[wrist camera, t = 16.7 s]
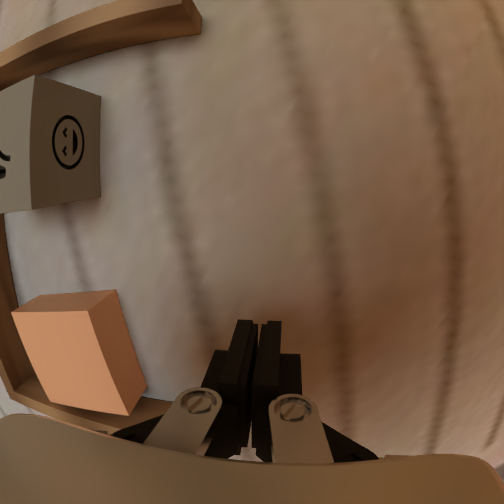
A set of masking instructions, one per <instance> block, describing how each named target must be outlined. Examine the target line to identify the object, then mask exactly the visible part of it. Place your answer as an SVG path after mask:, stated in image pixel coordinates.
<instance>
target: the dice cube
mask: <svg viewBox="0 0 504 504" xmlns="http://www.w3.org/2000/svg"><path fill="white" fill-rule="evenodd" d="M100 106H101V96H98V95H96V94H93V93H90V92H87V91H84V90H81V89H78V88H75V87H72V86H69V85H66V84H63V83H60V82H57V81H54V80H51V79H47V78H44V77H41V76H38V75H33V76H31V77H29V78H26V79H24V80H22V81H20V82H18V83H16V84H14V85H12V86H10V87H8V88H6V89H4V90H2V91H0V213H8V212H17V211H26V210H33V209H38V208H43V207H47V206H52V205H57V204H62V203H68V202H73V201H78V200H84V199H89V198H95V197H101V186H100Z"/></svg>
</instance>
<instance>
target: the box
mask: <svg viewBox="0 0 504 504" xmlns="http://www.w3.org/2000/svg"><path fill="white" fill-rule="evenodd" d="M201 18H202V17H201V15H200V13H199V11H198V9H197V8H196V6H195V4H194V2H193V1H192V0H118V1H115V2H112V3H109V4H106V5H103V6H100V7H97V8H94V9H91V10H88V11H86V12H83V13H80V14H78V15H75V16H73V17H70V18H68V19H66V20H63V21H61V22H59V23H56V24H54V25H52V26H50V27H48V28H45V29H43V30H41V31H39V32H37V33H35V34H33V35H31V36H29V37H27V38H25V39H24V40H22V41H20V42H18V43H16V44H14V45H13V46H11V47H9V48H7V49H6V50H4V51H2V52H1V53H0V91H2V90H4V89H6V88H8V87H10V86H12V85H14V84H16V83H18V82H20V81H22V80H24V79H26V78H29V77H31V76H33V75H40V74H42V73H45V72H47V71H50V70H53V69H55V68H58V67H61V66H63V65H66V64H69V63H72V62H75V61H78V60H81V59H84V58H87V57H91V56H94V55H97V54H101V53H104V52H108V51H112V50H116V49H120V48H124V47H128V46H132V45H136V44H141V43H146V42H151V41H156V40H161V39H167V38H173V37H179V36H186V35H194V34H201ZM17 308H19V307H18V303H17V298H16V294H15V289H14V285H13V280H12V274H11V269H10V263H9V257H8V251H7V244H6V236H5V227H4V217H3V213H0V376H1V378H2V381H3V383H4V385H5V388H6V390H7V392H8V394H9V396H10V399H12V400H14V401H16V402H19V403H21V404H23V405H25V406H27V407H30V408H32V409H34V410H36V411H39V412H41V413H44V414H46V415H48V416H51V417H53V418H56V419H59V420H61V421H64V422H67V423H70V424H74V425H77V426H80V427H83V428H86V429H92V430H101V431H107V432H108V434H109V435H111V434H113V433H114V432H116V431H118V430H120V429H123V428H126V427H129V426H132V425H135V424H138V423H141V422H144V421H147V420H149V419H152V418H155V417H158V416H160V415H163V414H165V413H166V412H167V410H168V409H169V407H170V406H171V405H172V403H173V402H169V401H162V400H157V399H151V398H145V397H140V399H139V400H138V402H137V404H136V405H135V407H134V408H133V410H132V412H131V413H130V415H129V416H127V415H120V414H112V413H106V412H99V411H93V410H88V409H82V408H77V407H72V406H67V405H62V404H58V403H53V402H50V400H49V398H48V397H47V395H46V393H45V391H44V389H43V387H42V385H41V383H40V381H39V379H38V377H37V375H36V373H35V370H34V368H33V366H32V364H31V362H30V359H29V357H28V355H27V352H26V350H25V348H24V345H23V343H22V340H21V338H20V335H19V333H18V330H17V328H16V325H15V322H14V319H13V316H12V314H11V312H12V311H14V310H15V309H17Z"/></svg>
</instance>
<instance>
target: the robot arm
mask: <svg viewBox="0 0 504 504" xmlns="http://www.w3.org/2000/svg"><path fill="white" fill-rule="evenodd" d="M281 323H282V321H268V322H267V324H262V327H261V333H260V339H259V345H258V324H253V321H252V320H239V319H238V322H237V325H236V328H235V331H234V334H233V337H232V340H231V343H230V347H229V350H228V351H225V350H215V352H214V354H213V357H212V359H211V362H210V364H209V367H208V369H207V372H206V375H205V377H204V380H203V382H202V385H201V387H199V388H191V389H188V390H185V391H184V392H182V393H181V394H180V395H179V396H178V397H177V398H176V399H175V401H174V402H173V403H172V405H171V406H170V407H169V409H168V410H167V412H166V413H165V414H163V415H160V416H158V417H155V418H152V419H149V420H147V421H144V422H141V423H138V424H135V425H132V426H129V427H126V428H123V429H120V430H118V431H116V432H114V433H113V434H111V435H109V434H108V432H107V431H101V430H92V429H86V428H83V427H80V426H77V425H74V424H70V423H67V422H64V421H61V420H58V419H54V418H50V417H46V416H40V415H35V414H11V415H7V416H4V417H3V418H1V419H0V504H504V482H503V480H502V479H501V477H500V475H499V474H498V473H497V471H496V470H495V469H494V468H493V467H492V466H491V465H490V464H489V463H487V462H486V461H484V460H482V459H480V458H477V457H473V456H468V455H459V454H427V455H416V456H404V455H385V457H384V458H379V457H377V456H376V455H375V454H374V453H373V452H371V451H370V450H368V449H366V448H365V447H363V446H361V445H359V444H358V443H356V442H354V441H352V440H351V439H349V438H347V437H346V436H344V435H342V434H341V433H339V432H337V431H336V430H334V429H332V428H331V427H329V426H328V425H326V424H324V423H323V422H321V419H320V416H319V412H318V409H317V406H316V405H315V403H314V402H313V401H312V400H311V399H310V398H308V397H306V396H304V395H302V380H301V358H300V354H280V344H281ZM251 421H252V448H256V456H258V457H259V458H260V459H261V460H262V461H263V462H256V461H243V460H233V459H227V458H229V457H231V456H233V455H240V452H241V447H247V445H248V439H249V433H250V427H251Z"/></svg>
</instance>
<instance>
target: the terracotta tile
mask: <svg viewBox="0 0 504 504" xmlns="http://www.w3.org/2000/svg"><path fill="white" fill-rule="evenodd" d="M11 314H12V316H13V319H14V322H15V325H16V328H17V330H18V333H19V335H20V338H21V340H22V343H23V345H24V348H25V350H26V352H27V355H28V357H29V359H30V362H31V364H32V366H33V368H34V370H35V373H36V375H37V377H38V379H39V381H40V383H41V385H42V387H43V389H44V391H45V393H46V395H47V397H48V398H49V400H50V402H53V403H58V404H62V405H67V406H72V407H77V408H82V409H88V410H93V411H99V412H106V413H112V414H120V415H127V416H129V415H130V413H131V412H132V410H133V408H134V407H135V405H136V404H137V402H138V400H139V399H140V397H141V395H142V394H143V392H144V391H145V389H146V387H147V384H146V381H145V379H144V376H143V373H142V371H141V368H140V365H139V362H138V359H137V357H136V354H135V351H134V348H133V345H132V342H131V339H130V336H129V332H128V329H127V326H126V323H125V320H124V316H123V313H122V309H121V306H120V302H119V299H118V295H117V292H116V289H115V290H103V291H91V292H78V293H64V294H50V295H39V296H37V297H36V298H34V299H32V300H30V301H29V302H27V303H25V304H24V305H22V306H20V307H19V308H17V309H15V310H14V311H12V312H11Z"/></svg>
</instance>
